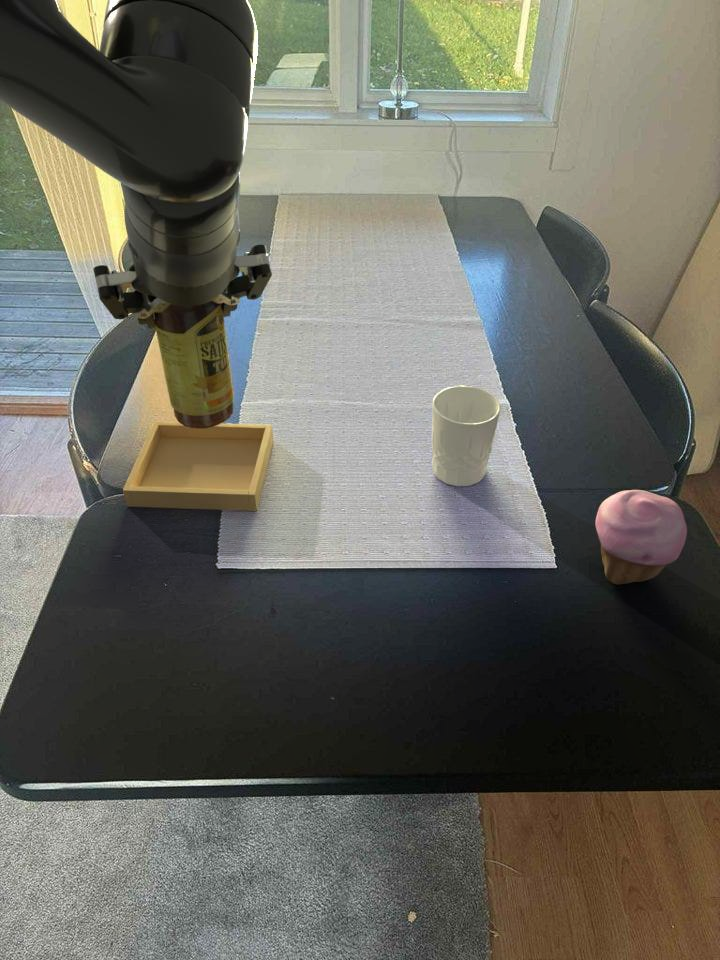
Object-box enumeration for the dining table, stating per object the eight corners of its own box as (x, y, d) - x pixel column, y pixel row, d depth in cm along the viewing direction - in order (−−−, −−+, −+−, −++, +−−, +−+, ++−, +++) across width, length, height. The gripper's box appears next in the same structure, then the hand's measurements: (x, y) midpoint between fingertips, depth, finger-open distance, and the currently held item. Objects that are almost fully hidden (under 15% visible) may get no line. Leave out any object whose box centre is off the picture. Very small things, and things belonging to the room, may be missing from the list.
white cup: (430, 447, 92) (436, 382, 85) (491, 453, 91) (501, 388, 84) (424, 486, 86) (429, 420, 79) (489, 493, 85) (499, 427, 78)
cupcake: (577, 539, 79) (596, 471, 72) (655, 542, 79) (682, 475, 72) (591, 601, 72) (614, 533, 66) (677, 605, 72) (709, 537, 65)
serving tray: (127, 506, 83) (122, 490, 81) (157, 436, 93) (153, 421, 92) (257, 511, 83) (254, 495, 81) (273, 440, 93) (272, 424, 91)
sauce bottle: (225, 435, 68) (192, 233, 55) (164, 429, 69) (117, 228, 56) (244, 397, 73) (219, 204, 60) (187, 392, 74) (149, 200, 61)
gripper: (272, 172, 51) (254, 263, 67) (64, 194, 47) (98, 284, 64) (294, 271, 51) (271, 339, 67) (87, 300, 47) (115, 364, 63)
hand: (186, 312), depth 65 cm, fingers closed on sauce bottle, 6 cm apart
